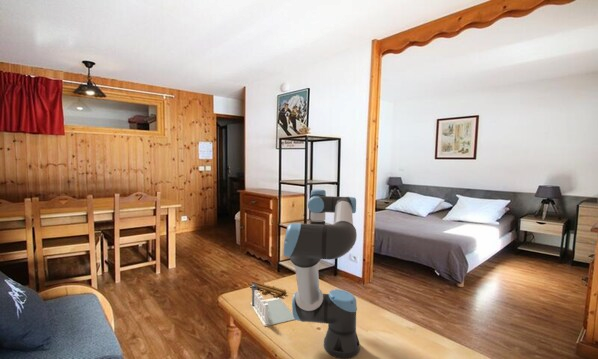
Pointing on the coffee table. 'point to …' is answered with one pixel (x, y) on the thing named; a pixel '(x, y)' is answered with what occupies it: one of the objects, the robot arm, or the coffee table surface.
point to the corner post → (254, 287)
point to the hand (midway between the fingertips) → (316, 266)
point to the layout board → (275, 312)
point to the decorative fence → (268, 289)
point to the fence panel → (261, 305)
